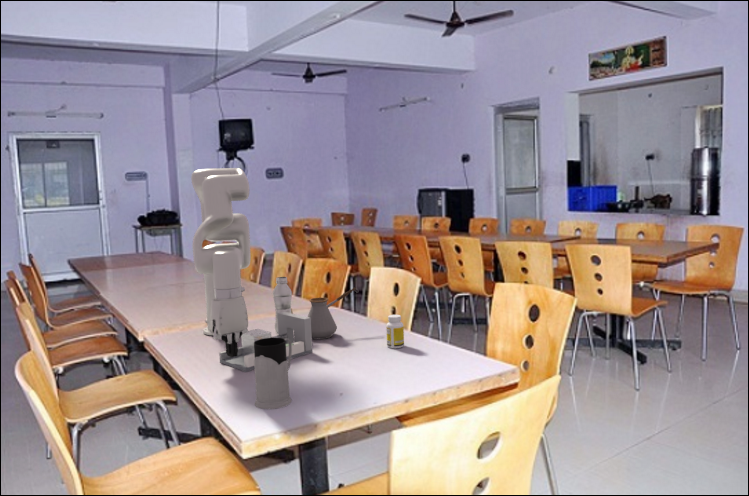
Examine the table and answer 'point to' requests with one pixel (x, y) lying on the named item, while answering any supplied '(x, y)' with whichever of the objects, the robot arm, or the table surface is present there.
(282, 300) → the plastic bottle
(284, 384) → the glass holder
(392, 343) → the supplement bottle
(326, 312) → the coffee pot
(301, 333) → the track
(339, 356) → the table surface
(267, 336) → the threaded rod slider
